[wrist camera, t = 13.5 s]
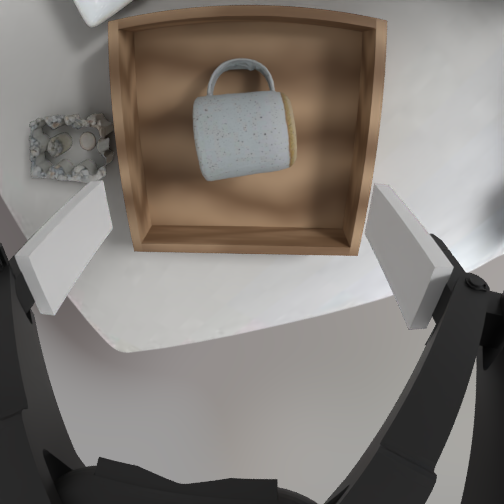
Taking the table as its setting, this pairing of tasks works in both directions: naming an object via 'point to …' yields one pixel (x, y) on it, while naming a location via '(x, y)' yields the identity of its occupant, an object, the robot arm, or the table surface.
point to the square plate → (99, 10)
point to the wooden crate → (242, 81)
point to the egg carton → (63, 143)
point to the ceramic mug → (243, 128)
